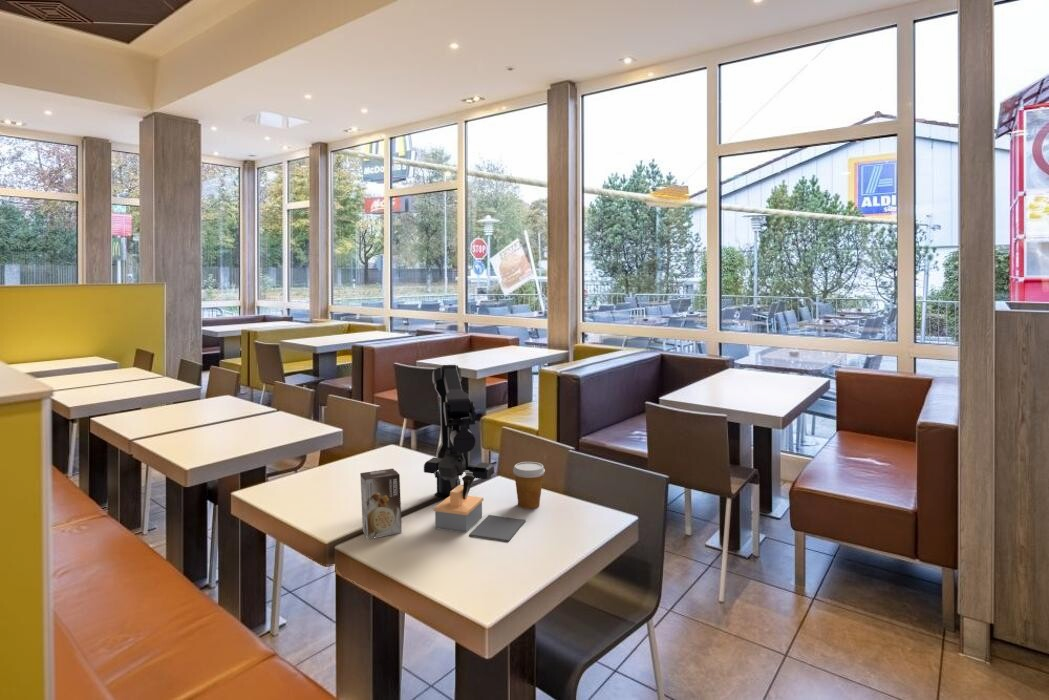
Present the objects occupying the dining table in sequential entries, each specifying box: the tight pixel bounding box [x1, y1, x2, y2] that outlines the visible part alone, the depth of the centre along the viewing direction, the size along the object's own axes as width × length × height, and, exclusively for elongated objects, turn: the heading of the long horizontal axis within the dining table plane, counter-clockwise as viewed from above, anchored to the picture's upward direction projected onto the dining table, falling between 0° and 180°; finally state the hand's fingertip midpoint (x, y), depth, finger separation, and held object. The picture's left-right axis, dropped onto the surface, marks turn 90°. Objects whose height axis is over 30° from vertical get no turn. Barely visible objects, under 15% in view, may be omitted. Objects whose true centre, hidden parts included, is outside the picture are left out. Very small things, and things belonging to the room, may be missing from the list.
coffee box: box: [360, 468, 403, 539], centre depth 157 cm, size 9×6×16 cm
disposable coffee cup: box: [512, 461, 546, 510], centre depth 176 cm, size 10×10×12 cm
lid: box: [433, 484, 484, 515], centre depth 163 cm, size 10×12×6 cm
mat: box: [468, 514, 527, 543], centre depth 160 cm, size 11×14×1 cm
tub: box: [434, 501, 483, 534], centre depth 163 cm, size 9×11×5 cm
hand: (459, 498), depth 163 cm, fingers open, 3 cm apart
